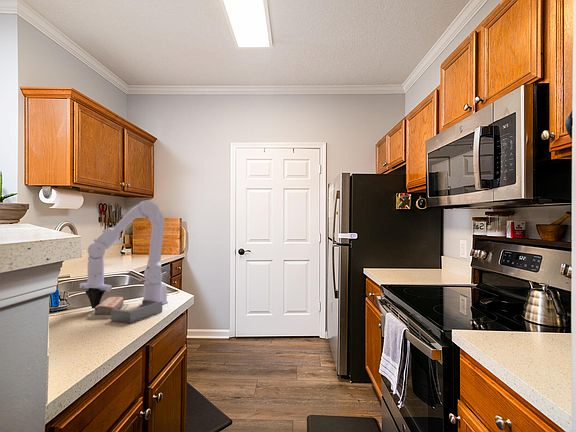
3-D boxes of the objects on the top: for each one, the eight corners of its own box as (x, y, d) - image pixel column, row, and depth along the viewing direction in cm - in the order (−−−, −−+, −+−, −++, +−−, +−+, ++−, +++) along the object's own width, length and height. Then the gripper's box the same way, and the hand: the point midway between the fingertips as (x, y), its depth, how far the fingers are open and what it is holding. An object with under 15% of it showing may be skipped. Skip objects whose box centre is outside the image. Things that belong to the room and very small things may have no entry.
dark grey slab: (144, 309, 143) (144, 299, 143) (162, 311, 140) (162, 301, 140) (110, 321, 127) (111, 309, 127) (129, 323, 124) (130, 312, 124)
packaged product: (103, 295, 147) (128, 295, 149) (102, 307, 147) (128, 307, 149) (87, 307, 129) (116, 306, 131) (86, 320, 129) (116, 319, 131)
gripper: (72, 273, 139) (72, 308, 139) (101, 276, 135) (100, 312, 135) (88, 270, 146) (87, 304, 146) (116, 273, 141) (115, 307, 141)
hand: (95, 307), depth 141 cm, fingers closed
